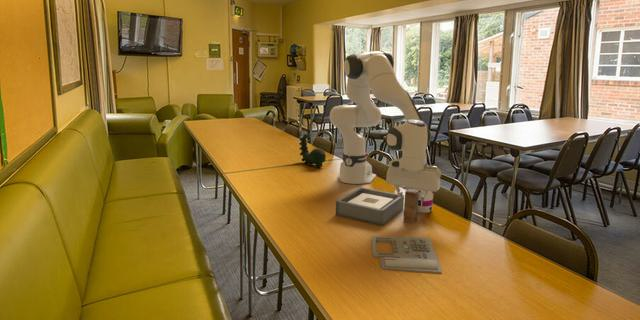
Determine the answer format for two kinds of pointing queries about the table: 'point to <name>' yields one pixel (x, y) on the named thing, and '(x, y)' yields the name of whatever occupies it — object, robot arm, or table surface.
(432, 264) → the office telephone
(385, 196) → the open box
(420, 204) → the supplement can
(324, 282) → the table surface
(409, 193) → the peg
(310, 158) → the toy figurine
